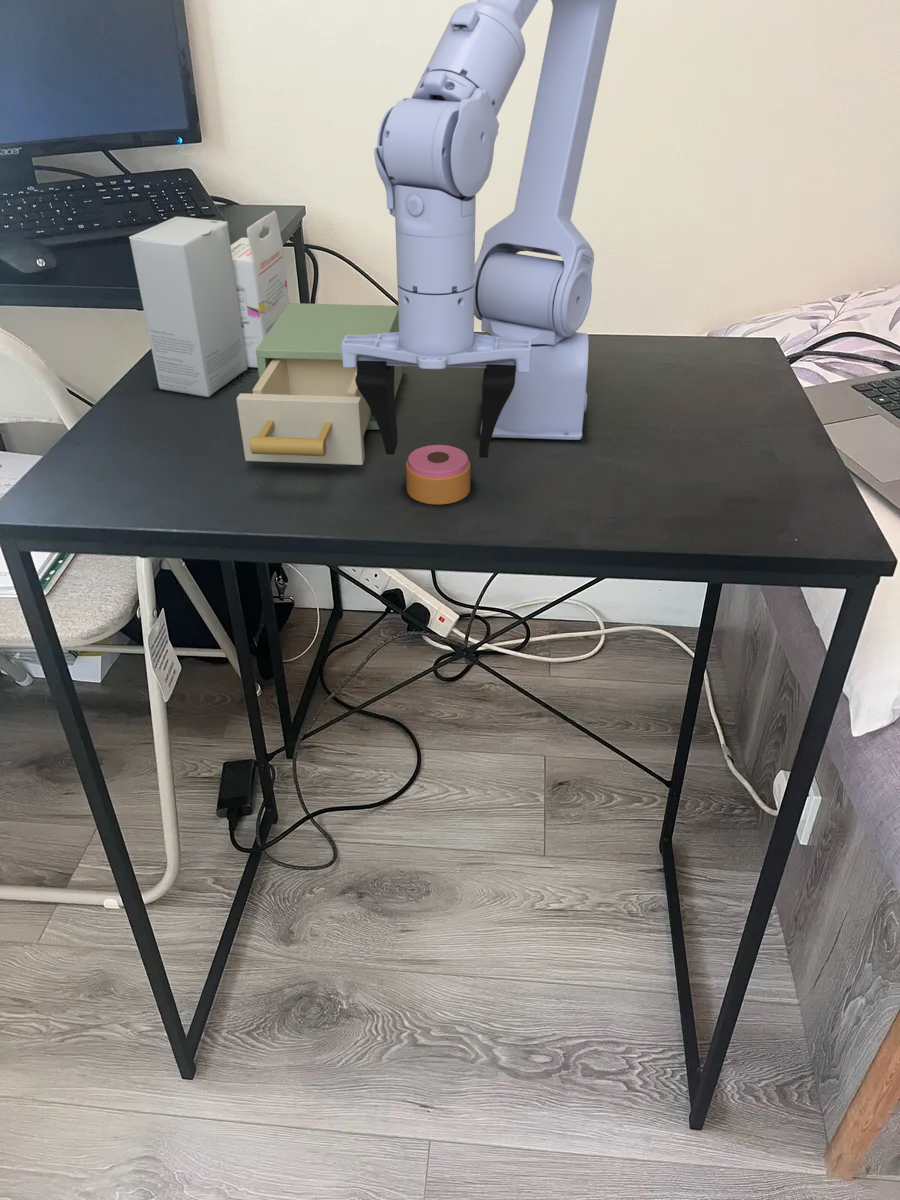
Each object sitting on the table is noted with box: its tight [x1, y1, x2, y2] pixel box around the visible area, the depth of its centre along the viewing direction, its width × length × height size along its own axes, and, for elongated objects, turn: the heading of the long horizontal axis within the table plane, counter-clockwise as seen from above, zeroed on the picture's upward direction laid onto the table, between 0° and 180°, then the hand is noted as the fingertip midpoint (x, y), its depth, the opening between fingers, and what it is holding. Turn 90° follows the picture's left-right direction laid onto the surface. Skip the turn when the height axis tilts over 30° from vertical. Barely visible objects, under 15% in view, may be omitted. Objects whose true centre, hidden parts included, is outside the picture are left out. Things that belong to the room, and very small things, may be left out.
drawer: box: [236, 358, 372, 466], centre depth 80 cm, size 17×10×6 cm, turn 175°
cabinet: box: [256, 302, 403, 431], centre depth 90 cm, size 14×12×8 cm
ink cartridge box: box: [230, 210, 290, 369], centre depth 98 cm, size 9×5×15 cm, turn 168°
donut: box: [405, 444, 471, 506], centre depth 76 cm, size 5×5×3 cm
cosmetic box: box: [128, 216, 248, 398], centre depth 92 cm, size 8×7×16 cm
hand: (437, 450), depth 75 cm, fingers open, 7 cm apart
